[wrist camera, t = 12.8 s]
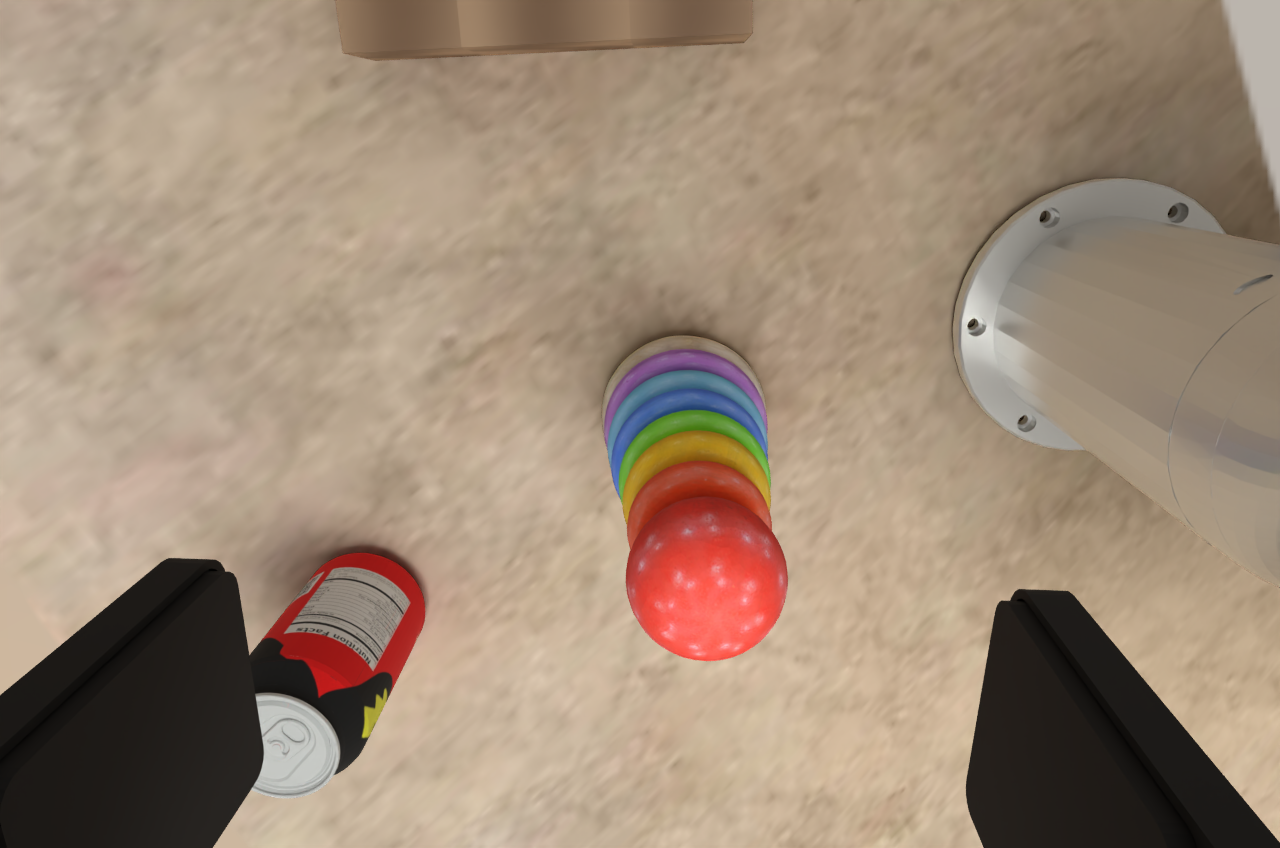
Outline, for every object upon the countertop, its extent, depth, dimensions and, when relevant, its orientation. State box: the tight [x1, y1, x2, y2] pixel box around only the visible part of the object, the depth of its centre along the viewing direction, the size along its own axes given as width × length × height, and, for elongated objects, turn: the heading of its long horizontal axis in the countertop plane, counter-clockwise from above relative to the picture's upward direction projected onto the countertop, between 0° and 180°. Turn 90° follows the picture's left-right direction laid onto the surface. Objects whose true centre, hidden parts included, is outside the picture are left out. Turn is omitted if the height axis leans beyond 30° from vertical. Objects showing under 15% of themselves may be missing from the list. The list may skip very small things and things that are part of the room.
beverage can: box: [249, 553, 425, 798], centre depth 40 cm, size 6×6×12 cm
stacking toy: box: [601, 336, 788, 661], centre depth 33 cm, size 8×8×19 cm
